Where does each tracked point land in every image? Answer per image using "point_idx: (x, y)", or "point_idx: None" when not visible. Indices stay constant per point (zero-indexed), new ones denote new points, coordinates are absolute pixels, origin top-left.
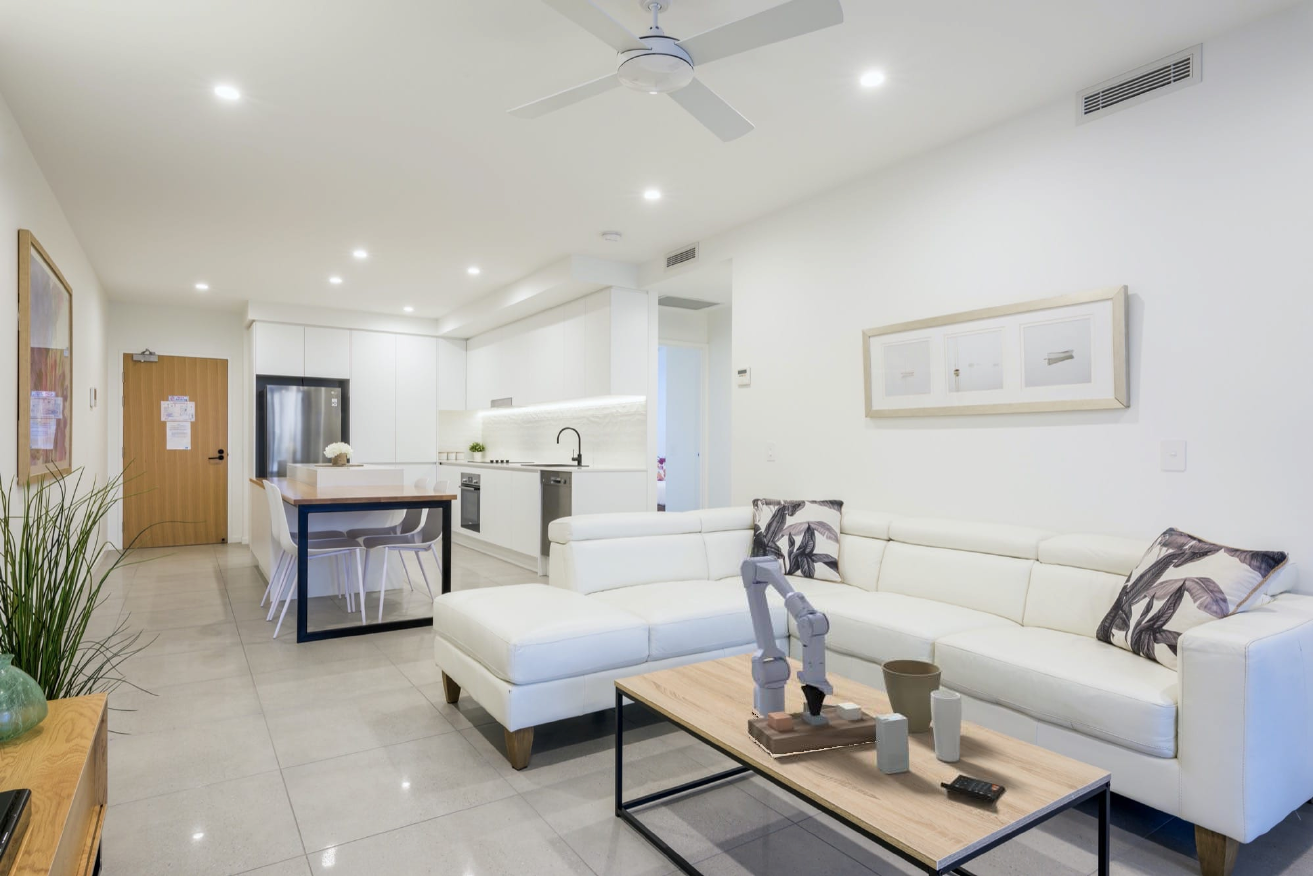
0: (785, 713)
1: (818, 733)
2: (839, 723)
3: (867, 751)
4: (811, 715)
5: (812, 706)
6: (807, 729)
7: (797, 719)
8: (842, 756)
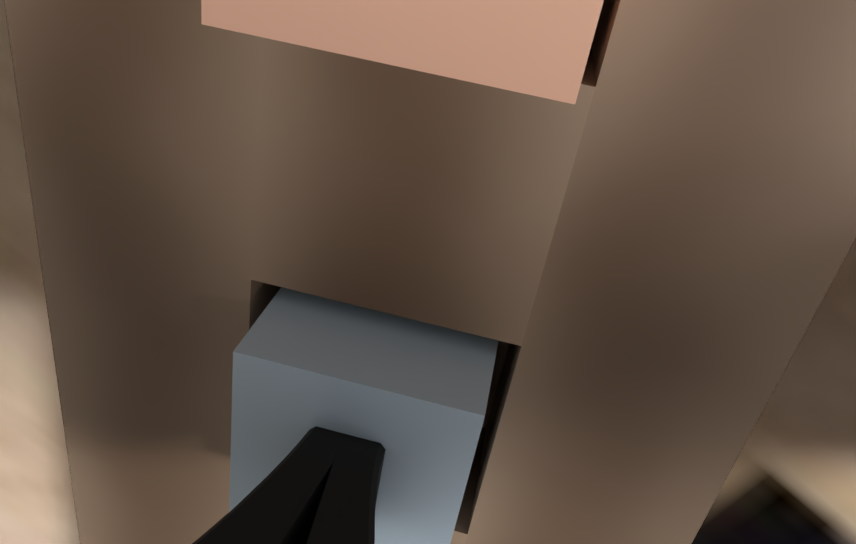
0: (431, 43)
1: (39, 193)
2: (203, 530)
3: (55, 419)
4: (341, 428)
5: (223, 520)
6: (162, 155)
7: (534, 301)
8: (11, 220)
